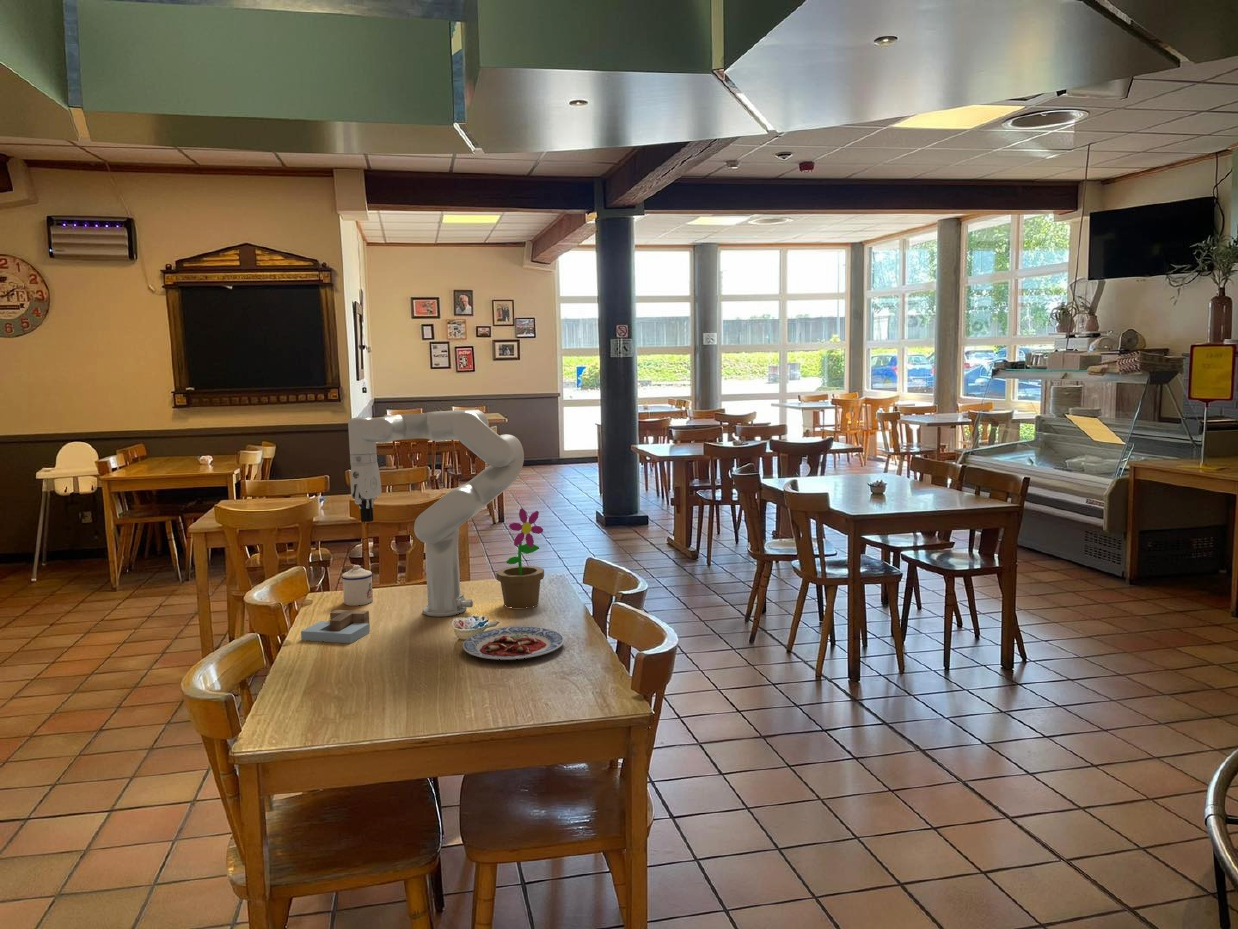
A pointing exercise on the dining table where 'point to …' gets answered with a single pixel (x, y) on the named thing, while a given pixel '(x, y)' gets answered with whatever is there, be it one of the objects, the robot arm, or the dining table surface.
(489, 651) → the ceramic plate
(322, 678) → the dining table surface
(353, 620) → the t block
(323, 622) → the dock
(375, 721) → the dining table surface
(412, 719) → the dining table surface
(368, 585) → the teacup with lid
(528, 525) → the flowerpot
